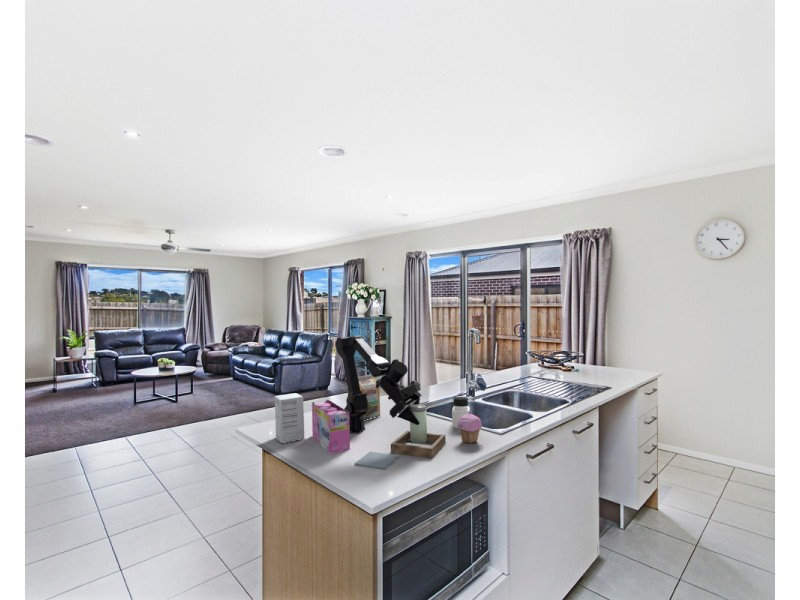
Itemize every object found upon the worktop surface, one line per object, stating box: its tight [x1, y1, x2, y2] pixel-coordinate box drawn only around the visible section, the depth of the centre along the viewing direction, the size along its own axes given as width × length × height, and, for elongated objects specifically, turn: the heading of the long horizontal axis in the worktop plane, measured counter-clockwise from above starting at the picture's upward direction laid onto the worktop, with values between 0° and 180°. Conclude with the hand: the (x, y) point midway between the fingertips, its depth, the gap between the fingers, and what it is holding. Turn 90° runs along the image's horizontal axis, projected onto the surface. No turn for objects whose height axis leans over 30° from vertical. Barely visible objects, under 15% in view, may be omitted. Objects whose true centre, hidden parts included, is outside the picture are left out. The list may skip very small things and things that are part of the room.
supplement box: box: [274, 392, 305, 444], centre depth 158 cm, size 10×9×17 cm
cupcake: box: [458, 413, 483, 444], centre depth 149 cm, size 9×9×10 cm
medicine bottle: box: [451, 395, 471, 429], centre depth 169 cm, size 7×7×12 cm
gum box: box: [311, 399, 351, 454], centre depth 153 cm, size 24×8×14 cm, turn 29°
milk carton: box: [347, 374, 381, 421], centre depth 186 cm, size 11×11×19 cm
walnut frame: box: [390, 430, 447, 459], centre depth 144 cm, size 15×15×3 cm
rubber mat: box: [353, 451, 400, 470], centre depth 133 cm, size 11×11×1 cm
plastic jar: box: [409, 403, 428, 444], centre depth 144 cm, size 6×6×12 cm
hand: (421, 421), depth 144 cm, fingers closed on plastic jar, 6 cm apart
